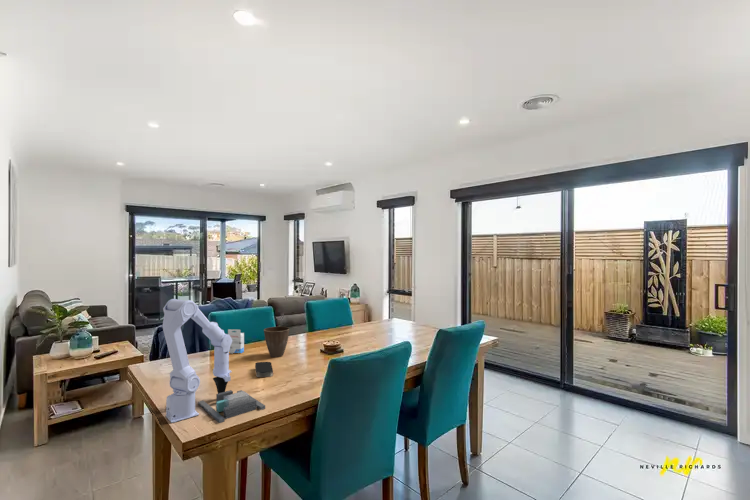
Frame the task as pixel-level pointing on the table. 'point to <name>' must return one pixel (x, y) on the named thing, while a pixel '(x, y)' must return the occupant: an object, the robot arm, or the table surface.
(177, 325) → the robot arm
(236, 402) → the steel block
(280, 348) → the plant pot
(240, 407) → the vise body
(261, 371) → the black sponge
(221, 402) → the sliding jaw
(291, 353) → the table surface
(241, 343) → the ink box
